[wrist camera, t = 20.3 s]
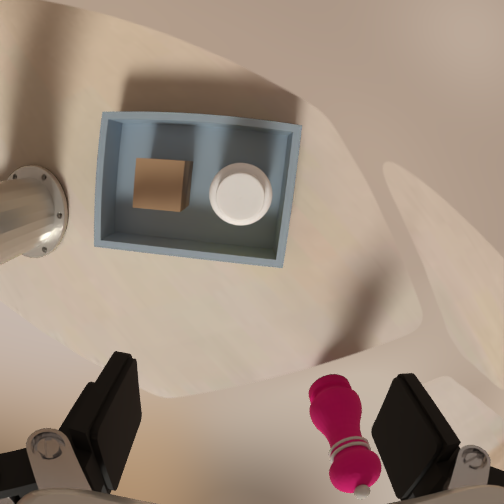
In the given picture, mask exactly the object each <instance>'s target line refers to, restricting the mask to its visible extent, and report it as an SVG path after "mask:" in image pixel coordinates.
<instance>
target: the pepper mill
mask: <svg viewBox="0 0 504 504" xmlns="http://www.w3.org/2000/svg"><path fill="white" fill-rule="evenodd" d="M309 398H310V402H311V405H310V416H311V419H312V422H313V424H314V425H315V426H316V428H317V429H318V430H320V431H321V432H322V433H323V434H324V435H325V436H326V438H327V440H328V441H329V444H330V447H331V449H330V450H329V458H330V462H331V464H332V465H331V467H330V470H329V476H330V480H331V482H332V484H333V485H334V486H335V488H337V489H338V490H340V491H342V492H346V493H354V495H355V497H356V498H358V499H364V498H366V497H367V496H368V495H369V494H370V488H369V487H370V486H371V485H373V484H374V483H375V482H376V481H377V479H378V478H379V476H380V473H381V462H380V459H379V457H378V456H377V455H376V454H375V453H374V452H373V451H371V448H370V446H369V443H368V440H367V439H365V438H364V437H362V435H361V432H360V419H361V413H362V410H361V409H362V407H361V402H360V398H359V396H358V395H357V393H356V392H355V391H353V390H352V389H351V386H350V384H349V382H348V380H347V379H346V378H345V377H343V376H341V375H337V374H330V375H326V376H323V377H321V378H319V379H318V380H316V381H315V382H314V383H313V384H312V386H311V387H310V390H309Z"/></svg>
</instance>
